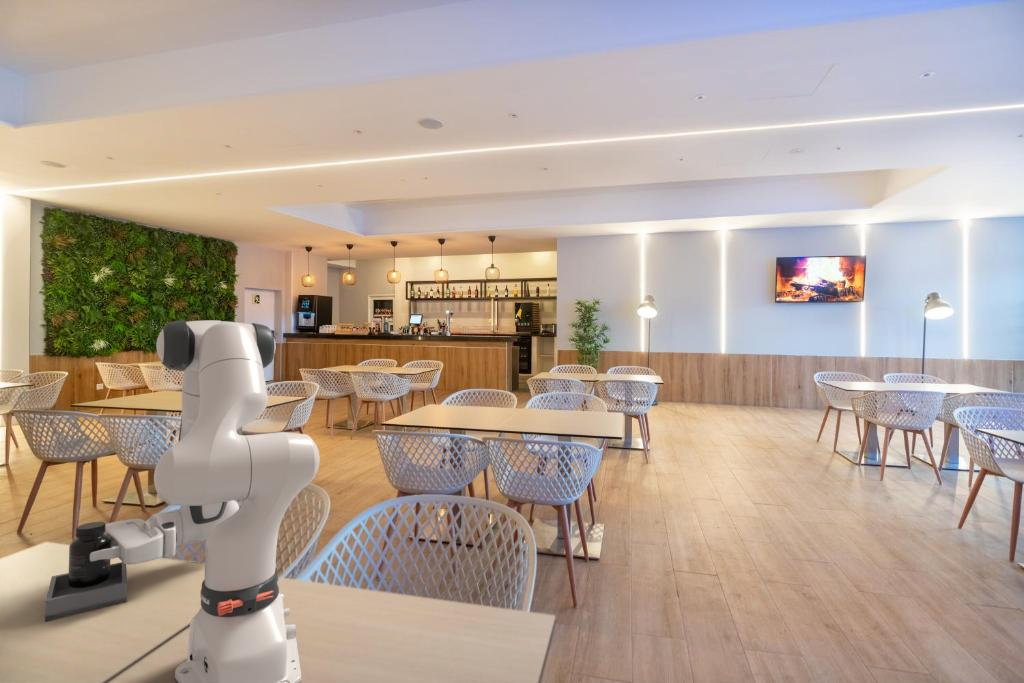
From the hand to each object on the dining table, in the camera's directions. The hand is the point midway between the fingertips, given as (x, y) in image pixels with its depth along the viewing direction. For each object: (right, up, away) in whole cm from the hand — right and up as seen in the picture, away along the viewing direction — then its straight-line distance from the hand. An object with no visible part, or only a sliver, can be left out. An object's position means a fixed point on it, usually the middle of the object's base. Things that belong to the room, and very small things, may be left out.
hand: (84, 551), depth 105 cm
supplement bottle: (0, -7, +1) cm, 7 cm away
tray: (0, -10, +1) cm, 10 cm away
